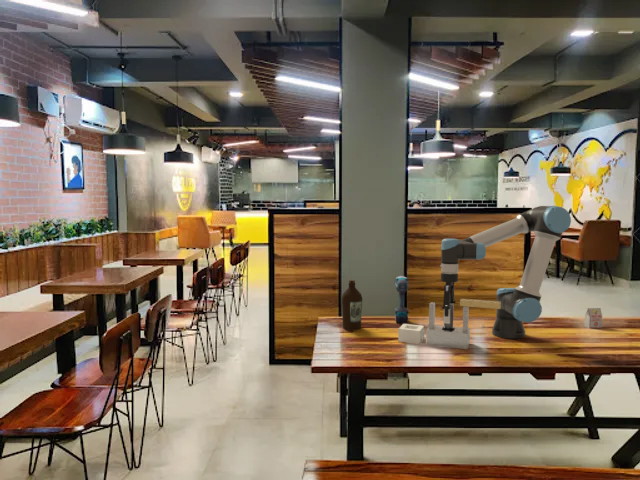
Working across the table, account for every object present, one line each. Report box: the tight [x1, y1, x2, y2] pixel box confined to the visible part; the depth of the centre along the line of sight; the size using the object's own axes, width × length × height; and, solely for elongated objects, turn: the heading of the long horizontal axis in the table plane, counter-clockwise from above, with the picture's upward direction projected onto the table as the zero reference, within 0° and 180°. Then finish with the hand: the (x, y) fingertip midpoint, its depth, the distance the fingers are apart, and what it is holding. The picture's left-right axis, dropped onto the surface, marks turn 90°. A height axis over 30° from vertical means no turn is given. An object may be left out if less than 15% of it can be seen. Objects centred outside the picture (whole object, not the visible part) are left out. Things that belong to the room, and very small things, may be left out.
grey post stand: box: [425, 301, 471, 350], centre depth 214 cm, size 18×10×18 cm, turn 67°
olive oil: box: [341, 279, 363, 331], centre depth 242 cm, size 11×11×25 cm
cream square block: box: [397, 323, 425, 345], centre depth 222 cm, size 10×10×6 cm
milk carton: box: [584, 307, 603, 329], centre depth 243 cm, size 4×7×10 cm, turn 94°
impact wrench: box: [393, 274, 410, 324], centre depth 256 cm, size 8×23×25 cm, turn 174°
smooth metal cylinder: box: [443, 305, 454, 331], centre depth 214 cm, size 4×4×16 cm
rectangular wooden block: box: [459, 298, 501, 310], centre depth 208 cm, size 17×4×2 cm, turn 67°
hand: (448, 320), depth 214 cm, fingers open, 11 cm apart
